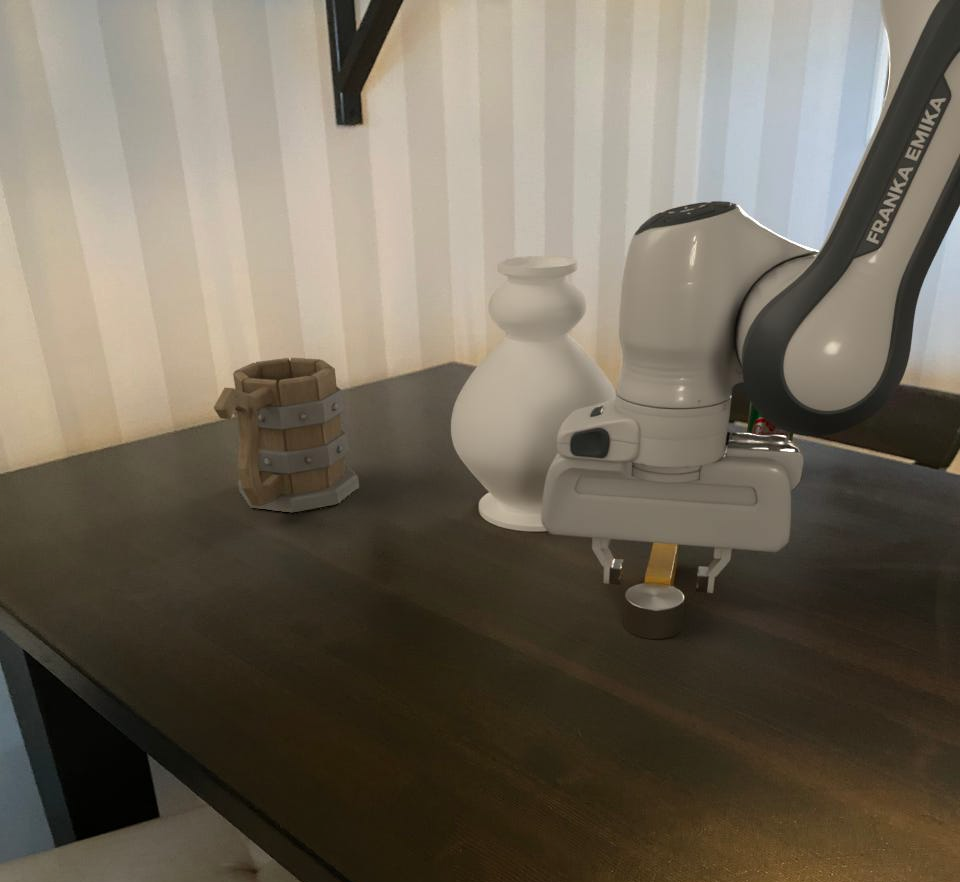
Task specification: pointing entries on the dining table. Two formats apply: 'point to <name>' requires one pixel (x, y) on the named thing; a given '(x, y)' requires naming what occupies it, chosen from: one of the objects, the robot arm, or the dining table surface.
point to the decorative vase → (525, 389)
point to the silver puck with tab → (656, 597)
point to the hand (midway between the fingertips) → (658, 585)
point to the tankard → (289, 434)
